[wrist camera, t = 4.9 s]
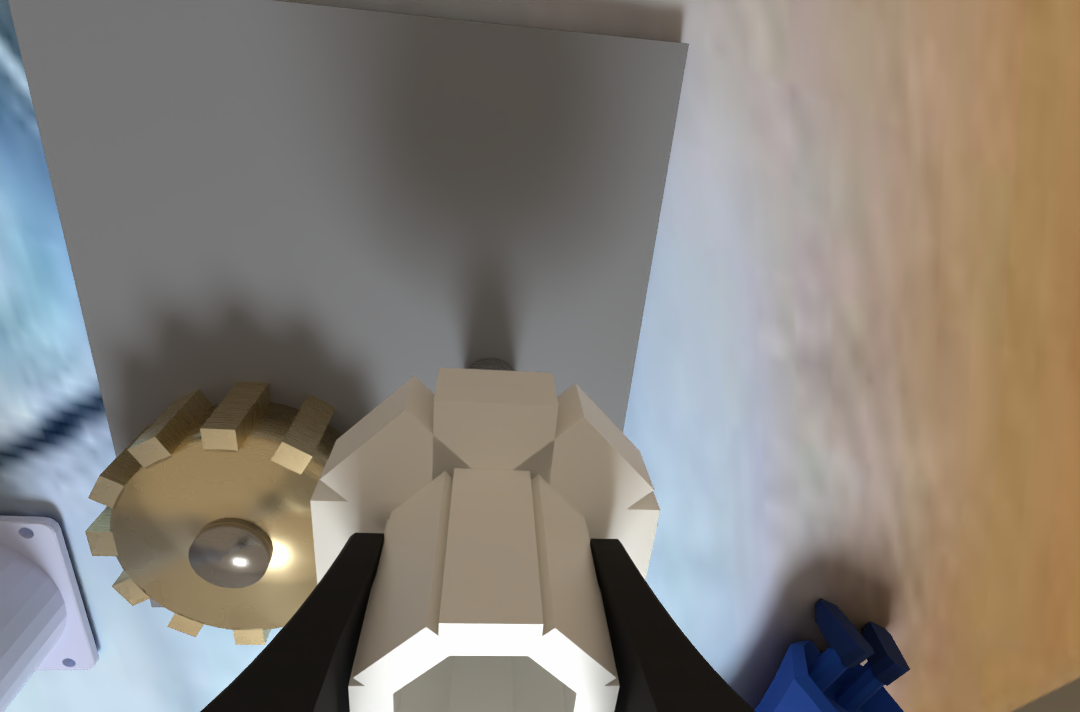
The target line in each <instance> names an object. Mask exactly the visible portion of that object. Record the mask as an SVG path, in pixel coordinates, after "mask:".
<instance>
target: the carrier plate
mask: <svg viewBox="0 0 1080 712" xmlns="http://www.w3.org/2000/svg"><path fill="white" fill-rule="evenodd" d="M8 1H9V5H10V10H11V14H12V18H13V22H14V26H15V31H16V35H17V39H18V43H19V48H20V52H21V56H22V60H23V65H24V69H25V73H26V77H27V81H28V86H29V90H30V94H31V98H32V103H33V107H34V111H35V115H36V119H37V124H38V128H39V132H40V136H41V141H42V145H43V149H44V153H45V158H46V162H47V166H48V170H49V174H50V179H51V183H52V187H53V191H54V196H55V200H56V204H57V208H58V213H59V217H60V221H61V225H62V229H63V234H64V238H65V242H66V246H67V251H68V255H69V259H70V263H71V267H72V272H73V276H74V280H75V284H76V289H77V293H78V297H79V301H80V306H81V310H82V314H83V318H84V322H85V327H86V331H87V335H88V339H89V344H90V348H91V352H92V356H93V360H94V365H95V369H96V373H97V377H98V382H99V386H100V390H101V394H102V399H103V403H104V407H105V411H106V415H107V420H108V424H109V428H110V432H111V437H112V441H113V445H114V449H115V453H116V458H117V457H118V456H119V455H120V454H121V453H122V452H123V451H124V450H125V449H126V447H127V446H128V445H129V444H130V443H131V442H132V441H133V440H134V439H135V438H136V437H137V436H138V435H139V434H140V433H141V432H142V431H143V430H144V429H145V428H146V427H147V426H148V425H149V424H152V423H153V422H154V421H155V420H156V419H157V418H158V417H159V416H160V415H161V414H162V413H163V412H164V411H165V410H166V409H167V408H168V407H169V406H170V405H171V404H172V402H173V401H174V400H177V399H179V398H181V397H183V396H185V395H187V394H189V393H191V392H193V391H195V390H197V389H199V390H200V391H201V392H202V393H203V395H204V396H205V397H206V398H207V399H208V401H209V402H210V403H211V404H212V405H217V404H220V403H221V402H222V401H223V399H224V398H225V397H226V396H227V395H228V393H229V392H230V391H231V390H232V388H233V387H234V386H235V385H236V383H237V382H259V383H269V391H270V401H271V402H274V403H279V404H284V405H287V406H291V407H294V408H297V409H300V408H301V406H302V405H303V403H304V401H305V400H306V398H307V396H308V395H309V394H310V395H312V396H314V397H316V398H318V399H320V400H322V401H324V402H326V403H328V404H330V405H332V406H334V407H335V410H334V412H333V414H332V416H331V419H330V421H329V423H328V425H330V426H331V427H332V428H334V429H335V430H336V431H338V432H339V433H340V434H341V435H343V434H344V433H346V432H347V431H348V430H349V429H350V428H352V427H353V426H354V425H355V424H356V423H358V422H359V421H360V420H361V419H362V418H364V417H365V416H366V415H367V414H368V413H370V412H371V411H372V410H373V409H374V408H376V407H377V406H378V405H379V404H381V403H382V402H383V401H384V400H385V399H387V398H388V397H389V396H390V395H391V394H393V393H394V392H395V391H396V390H397V389H399V388H400V387H401V386H402V385H403V384H405V383H406V382H407V381H408V380H409V379H411V378H412V377H413V376H415V377H417V378H418V379H419V380H420V381H421V382H422V383H423V384H424V385H425V386H426V387H427V388H428V389H429V390H431V391H432V392H433V393H434V394H435V391H436V386H437V380H438V375H439V369H440V367H441V368H462V369H468V367H469V366H470V365H471V364H472V363H474V362H475V361H477V360H479V359H482V358H487V357H492V358H498V359H501V360H503V361H505V362H506V363H508V364H509V365H510V366H511V368H512V369H513V371H523V372H544V373H552V374H553V379H554V385H555V390H556V395H557V397H558V396H559V395H561V394H562V393H563V392H565V391H566V390H567V389H568V388H570V387H571V386H572V385H574V384H575V383H576V384H577V385H578V386H579V387H580V388H581V389H582V390H583V392H584V393H585V394H586V395H587V396H588V397H589V398H590V399H591V400H592V401H593V402H594V403H595V404H596V405H597V406H598V408H599V409H600V410H601V411H602V412H603V413H604V414H605V415H606V416H607V417H608V418H609V419H610V420H611V421H612V422H613V423H614V425H615V426H616V427H617V428H618V429H619V430H620V431H621V432H622V433H623V429H624V423H625V417H626V411H627V405H628V399H629V393H630V387H631V381H632V376H633V370H634V364H635V358H636V352H637V346H638V340H639V334H640V328H641V322H642V317H643V311H644V305H645V299H646V293H647V287H648V281H649V275H650V269H651V264H652V258H653V252H654V246H655V240H656V234H657V228H658V222H659V216H660V211H661V205H662V199H663V193H664V187H665V181H666V175H667V169H668V163H669V158H670V152H671V146H672V140H673V134H674V128H675V122H676V116H677V110H678V105H679V99H680V93H681V87H682V81H683V75H684V69H685V63H686V57H687V51H688V46H689V44H687V43H677V42H668V41H658V40H648V39H639V38H629V37H620V36H610V35H601V34H591V33H581V32H572V31H562V30H553V29H543V28H533V27H524V26H514V25H505V24H495V23H486V22H476V21H466V20H457V19H447V18H438V17H428V16H419V15H409V14H399V13H390V12H380V11H371V10H361V9H352V8H342V7H332V6H323V5H313V4H304V3H294V2H285V1H275V0H8ZM150 601H151V606H152V607H163V606H161V605H160V604H159V603H157V602H156V601H154V600H153V599H151V598H150Z"/></svg>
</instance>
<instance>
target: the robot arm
mask: <svg viewBox="0 0 1080 712" xmlns="http://www.w3.org/2000/svg"><path fill="white" fill-rule="evenodd" d="M28 528H29V529H30V530H29V529H28ZM31 530H32V531H31ZM383 543H384V533H354V534H353V535H351V536H350V537H349V539H348V541H347V542H346V544H345V545H344V547H343V549H342V550H341V552H340V553H339V555H338V556H337V558H336V559H335V561H334V562H333V564H332V565H331V567H330V568H329V569H328V571H327V572H326V574H325V575H324V576H323V578H322V579H321V581H320V582H319V583H318V585H317V586H316V587H315V588H314V590H313V591H312V592H311V594H310V595H309V596H308V598H307V599H306V600H305V601H304V603H303V604H302V605H301V607H300V608H299V609H298V610H297V612H296V613H295V614H294V615H293V616H292V618H291V619H290V620H289V621H288V622H287V623H286V625H285V626H284V627H283V628H282V629H281V630H280V632H279V633H278V634H277V635H276V636H275V637H274V639H273V640H272V641H271V642H270V643H269V644H268V645H267V647H266V648H265V649H264V650H263V651H262V652H261V653H260V654H259V655H258V656H257V657H256V658H255V659H254V660H253V662H252V663H251V664H250V665H249V666H248V667H247V668H246V669H245V670H244V671H243V672H242V673H241V674H240V675H239V676H238V677H237V678H236V679H235V680H234V681H233V682H232V683H231V684H230V685H229V686H228V687H227V688H225V689H224V690H223V691H222V692H221V693H220V694H219V695H218V696H217V697H216V698H215V699H214V700H212V701H211V702H210V703H209V704H208V705H207V706H206V707H205V708H204V709H203V710H202V711H201V712H350V706H349V690H348V685H349V681H350V676H351V672H352V668H353V664H354V659H355V655H356V651H357V647H358V642H359V638H360V634H361V630H362V625H363V621H364V617H365V613H366V608H367V604H368V600H369V596H370V591H371V587H372V585H373V582H374V579H375V576H376V572H377V568H378V564H379V560H380V555H381V551H382V547H383ZM590 547H591V552H592V557H593V562H594V567H595V572H596V577H597V581H598V585H599V588H600V591H601V596H602V601H603V606H604V611H605V616H606V620H607V625H608V630H609V635H610V640H611V645H612V650H613V655H614V660H615V665H616V670H617V675H618V680H619V685H620V687H619V692H618V696H617V701H616V706H615V711H614V712H756V711H754V710H753V709H752V708H751V707H750V706H749V705H748V704H747V703H746V702H745V701H744V700H743V699H742V698H741V697H740V696H739V695H738V694H737V693H736V692H735V691H734V690H733V689H732V688H731V687H730V686H729V685H728V684H727V683H726V682H725V681H724V680H723V679H722V678H721V676H720V675H719V674H718V673H717V672H716V671H715V670H714V669H713V668H712V667H711V666H710V664H709V663H708V662H707V661H706V660H705V659H704V658H703V656H702V655H701V654H700V653H699V652H698V651H697V649H696V648H695V647H694V646H693V644H692V643H691V642H690V641H689V639H688V638H687V637H686V636H685V635H684V633H683V632H682V631H681V629H680V628H679V627H678V626H677V624H676V623H675V622H674V620H673V619H672V618H671V616H670V615H669V614H668V612H667V611H666V609H665V608H664V607H663V605H662V604H661V603H660V601H659V600H658V598H657V597H656V596H655V594H654V593H653V591H652V590H651V588H650V587H649V585H648V584H647V582H646V581H645V579H644V578H643V576H642V575H641V573H640V572H639V570H638V569H637V567H636V566H635V564H634V562H633V561H632V559H631V558H630V556H629V554H628V553H627V551H626V549H625V548H624V546H623V544H622V543H621V542H620V541H619V540H618V539H596V538H591V540H590ZM98 659H99V655H98V651H97V648H96V645H95V641H94V638H93V635H92V631H91V628H90V625H89V621H88V618H87V615H86V611H85V608H84V605H83V601H82V598H81V595H80V591H79V588H78V585H77V581H76V578H75V574H74V571H73V568H72V564H71V561H70V558H69V554H68V551H67V548H66V544H65V541H64V538H63V534H62V531H61V528H60V526H59V524H58V523H57V522H56V521H55V520H53V519H51V518H48V517H34V516H0V712H4V711H5V710H6V708H7V707H8V706H9V705H10V703H11V702H12V701H13V699H14V698H15V697H16V695H17V694H18V693H19V691H20V690H21V689H22V687H23V686H24V685H25V683H26V682H27V681H28V679H29V678H30V677H31V676H32V674H33V673H34V672H35V670H89V669H91V668H93V667H94V665H95V664H96V662H97V661H98Z"/></svg>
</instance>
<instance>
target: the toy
mask: <svg viewBox="0 0 1080 712" xmlns="http://www.w3.org/2000/svg"><path fill="white" fill-rule="evenodd" d="M815 621H816V623H817V625H818V627H819V629H820V631H821V633H822V634H823V636H824V638H825V640H826V642H827V644H828V645H829V648H828V649H827V650H826V651H825V652H824V653H820V652H819V650H818V649H817V647H816V646H815V645H814V643H813V642H812V641H806V640H802V641H799V642H796V643H793V644H790V646H789V648H788V650H787V652H786V654H785V657H784V659H783V661H782V663H781V665H780V667H779V669H778V671H777V674H776V676H775V678H774V680H773V681H772V683H771V685H770V686H769V688H768V690H767V691H766V693H765V695H764V696H763V698H762V700H761V701H760V703H759V705H758V706H757V707H756V708H755V709H754V711H756V712H904V711H903V710H902V709H901V708H900V707H899V705H898V704H897V703H896V702H895V701H894V699H893V698H892V697H891V696H890V694H889V693H888V692H887V691H886V690H885V688H884V687H883V686H884V685H887V686H888V685H889V684H890V683H892V682H893V681H895V680H896V679H897V678H899V677H900V676H902V675H903V674H905V673H906V672H907V671H909V670H910V668H909V667H908V665H907V663H906V661H905V659H904V658H903V656H902V654H901V652H900V650H899V649H898V647H897V645H896V643H895V641H894V640H893V638H892V636H891V634H890V633H889V632H888V631H887V630H886V629H885V628H882V627H880V626H878V625H876V624H874V623H872V622H869V623H868V624H867V625H866V626H865V629H864V633H863V636H862V635H861V634H860V633H859V631H858V630H857V629H856V628H855V627H854V626H853V624H852V623H851V622H850V621H849V620H848V619H847V617H846V616H845V615H844V614H843V613H842V612H841V610H840V609H839V608H838V607H837V606H836V605H834V604H832V603H829V602H827V601H825V600H823V599H820V600H819V601H818V602H817V603H816V604H815ZM866 659H867V660H868V662H867V663H866V664H865V665H864V666H861V665H860V663H861V662H863V661H864V660H866Z"/></svg>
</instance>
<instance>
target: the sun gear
mask: <svg viewBox="0 0 1080 712" xmlns="http://www.w3.org/2000/svg"><path fill="white" fill-rule="evenodd" d="M334 410H335V407H334V406H332V405H330V404H328V403H326V402H324V401H322V400H320V399H318V398H316V397H314V396H312V395H310V394H309V395H308V396H307V398H306V400H305V401H304V403H303V405H302V406H301V408H300V409H297V408H294V407H291V406H287V405H284V404H279V403H274V402H271V401H270V391H269V383H259V382H237V383H236V385H235V386H234V387H233V388H232V390H231V391H230V392H229V393H228V395H227V396H226V397H225V398H224V399H223V401H222V402H221V403H220V404H217V405H212V404H211V403H210V402H209V401H208V399H207V398H206V397H205V396H204V395H203V393H202V392H201V391H200V390H199V389H197V390H195V391H193V392H191V393H189V394H187V395H185V396H183V397H181V398H179V399H177V400H174V401H173V402H172V404H171V405H170V406H169V407H168V408H167V409H166V410H165V411H164V412H163V413H162V414H161V415H160V416H159V417H158V418H157V419H156V420H155V421H154V422H153V423H152V424H149V425H148V426H147V427H146V428H145V429H144V430H143V431H142V432H141V433H140V434H139V435H138V436H137V437H136V438H135V439H134V440H133V441H132V442H131V443H130V444H129V445H128V446H127V447H126V449H125V450H124V451H123V452H122V453H121V454H120V455H119V456H118V457H117V458H116V459H115V460H114V461H113V462H112V463H111V464H110V465H109V466H108V467H107V468H106V469H105V470H104V471H103V472H102V473H101V474H100V476H99V478H98V480H97V482H96V484H95V486H94V488H93V489H92V491H91V493H90V495H89V497H88V498H89V499H92V500H94V501H96V502H99V503H101V504H104V505H106V506H107V507H106V508H105V510H104V511H103V512H102V513H101V514H100V515H99V516H98V518H97V519H96V520H95V521H94V522H93V523H92V524H91V526H90V527H89V528H88V529H87V530H86V531H85V532H86V536H87V539H88V543H89V546H90V550H91V554H92V556H116V557H117V559H118V561H119V562H120V564H121V566H122V568H123V569H124V571H123V572H122V573H121V575H120V576H119V577H118V579H117V580H116V581H115V583H114V584H113V586H112V587H113V588H114V589H115V590H116V591H117V592H118V593H119V594H121V595H122V596H123V597H124V598H125V599H126V600H127V601H128V602H129V603H130V604H131V605H132V606H133V605H136V604H138V603H140V602H143V601H145V600H147V599H149V598H151V599H153V600H154V601H156V602H157V603H159V604H160V605H161V606H163V607H165V608H167V609H168V610H170V611H172V612H174V613H175V614H174V616H173V618H172V619H171V621H170V623H169V624H168V626H167V627H170V628H172V629H175V630H178V631H180V632H183V633H186V634H189V635H191V636H194V637H196V635H197V634H198V632H199V631H200V629H201V628H202V626H203V625H204V624H205V625H210V626H214V627H218V628H225V629H232V630H233V632H234V638H235V644H237V645H265V643H266V640H267V638H268V635H269V633H270V630H271V629H274V628H279V627H284V626H285V625H286V623H287V622H288V621H289V620H290V619H291V618H292V616H293V615H294V614H295V613H296V612H297V610H298V609H299V608H300V607H301V605H302V604H303V603H304V601H305V600H306V599H307V598H308V596H309V595H310V594H311V592H312V591H313V590H314V588H315V587H316V586H317V575H316V563H315V551H314V539H313V527H312V516H311V504H310V500H311V498H312V495H313V493H314V491H315V488H316V486H317V483H318V481H319V479H320V476H321V474H322V472H323V469H324V467H325V464H326V462H327V460H328V459H329V456H330V454H331V452H332V449H333V447H334V444H335V442H336V440H337V439H338V438H340V437H341V436H342V435H341V434H340V433H339V432H338V431H336V430H335V429H334V428H332V427H331V426H330V425H328V423H329V421H330V419H331V416H332V414H333V412H334Z"/></svg>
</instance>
